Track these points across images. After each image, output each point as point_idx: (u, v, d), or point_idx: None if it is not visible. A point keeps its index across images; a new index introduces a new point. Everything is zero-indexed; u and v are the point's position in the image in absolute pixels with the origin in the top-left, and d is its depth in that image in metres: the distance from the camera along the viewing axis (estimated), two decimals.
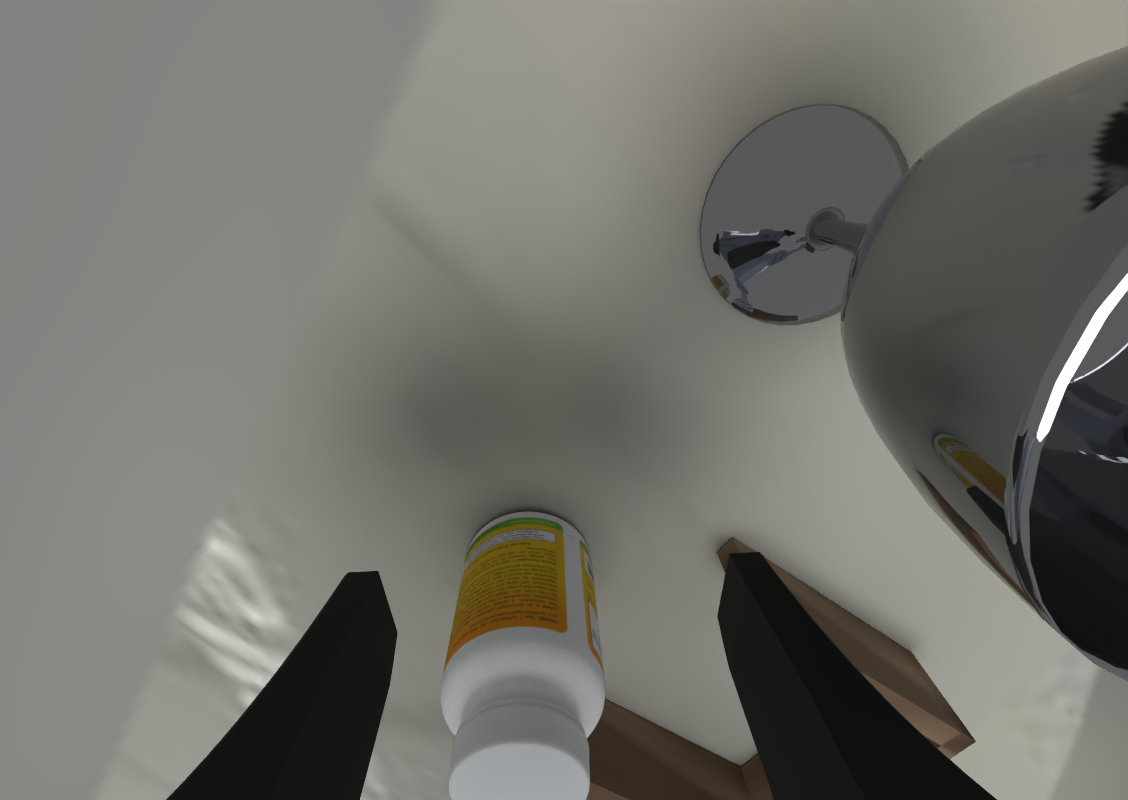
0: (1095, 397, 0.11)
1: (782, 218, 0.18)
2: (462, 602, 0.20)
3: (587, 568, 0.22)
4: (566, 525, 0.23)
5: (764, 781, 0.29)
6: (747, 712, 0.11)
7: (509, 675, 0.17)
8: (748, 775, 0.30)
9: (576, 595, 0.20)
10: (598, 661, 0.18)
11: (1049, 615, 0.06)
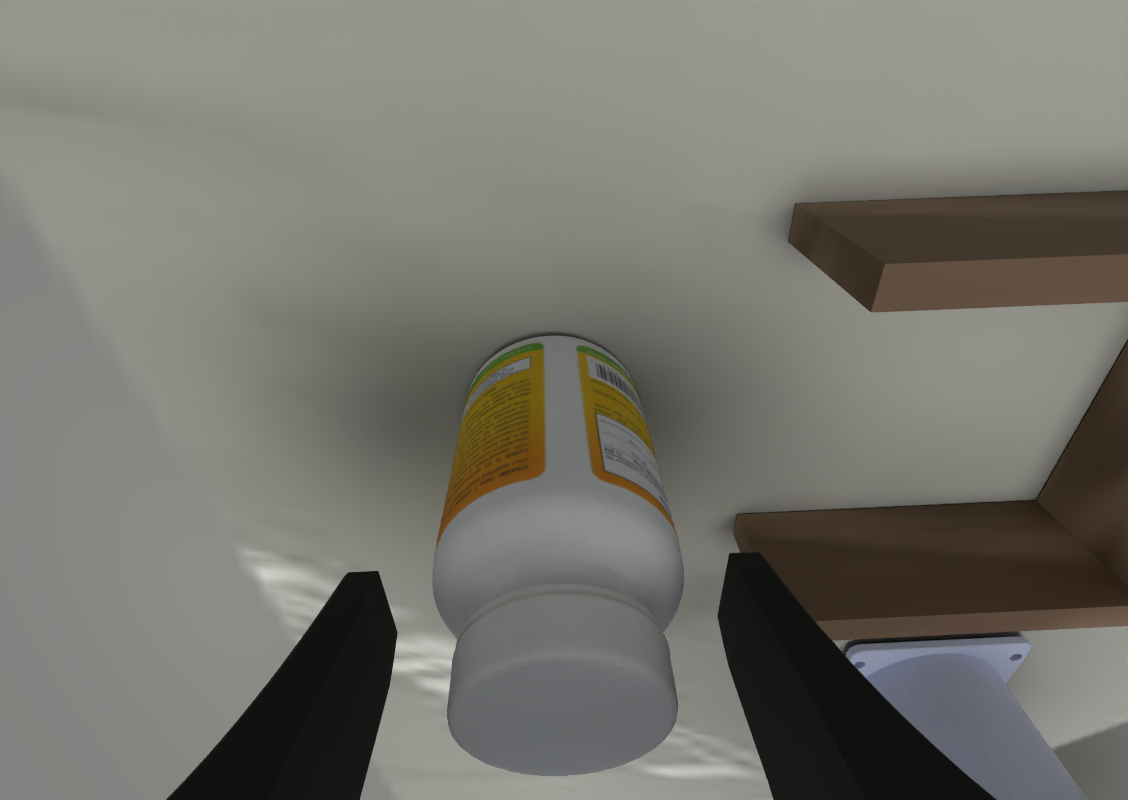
0: None
1: None
2: None
3: (596, 374, 0.15)
4: (550, 338, 0.16)
5: (1079, 503, 0.19)
6: (747, 712, 0.11)
7: (481, 574, 0.11)
8: (1052, 506, 0.20)
9: (565, 416, 0.13)
10: (623, 486, 0.11)
11: None
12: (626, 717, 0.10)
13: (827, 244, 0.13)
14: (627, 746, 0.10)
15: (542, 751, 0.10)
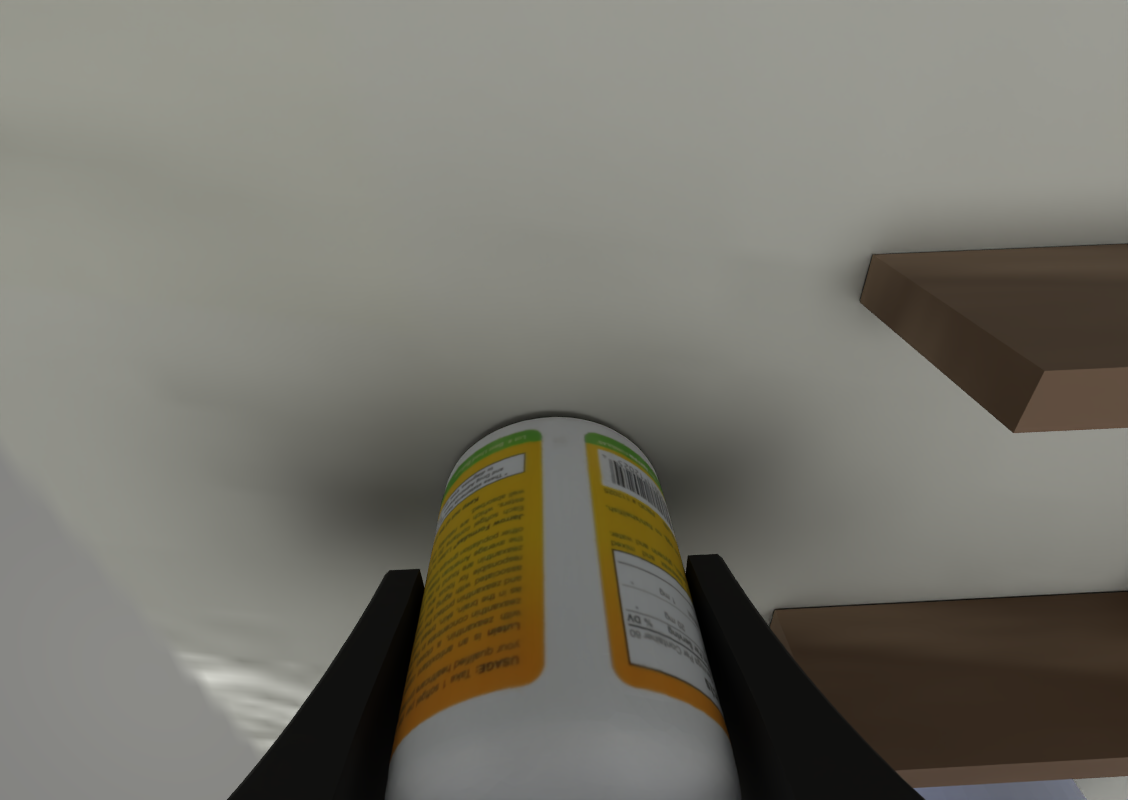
0: None
1: None
2: None
3: (611, 478, 0.11)
4: (550, 423, 0.12)
5: None
6: None
7: None
8: None
9: (572, 560, 0.09)
10: (657, 690, 0.08)
11: None
12: None
13: (929, 319, 0.10)
14: None
15: None
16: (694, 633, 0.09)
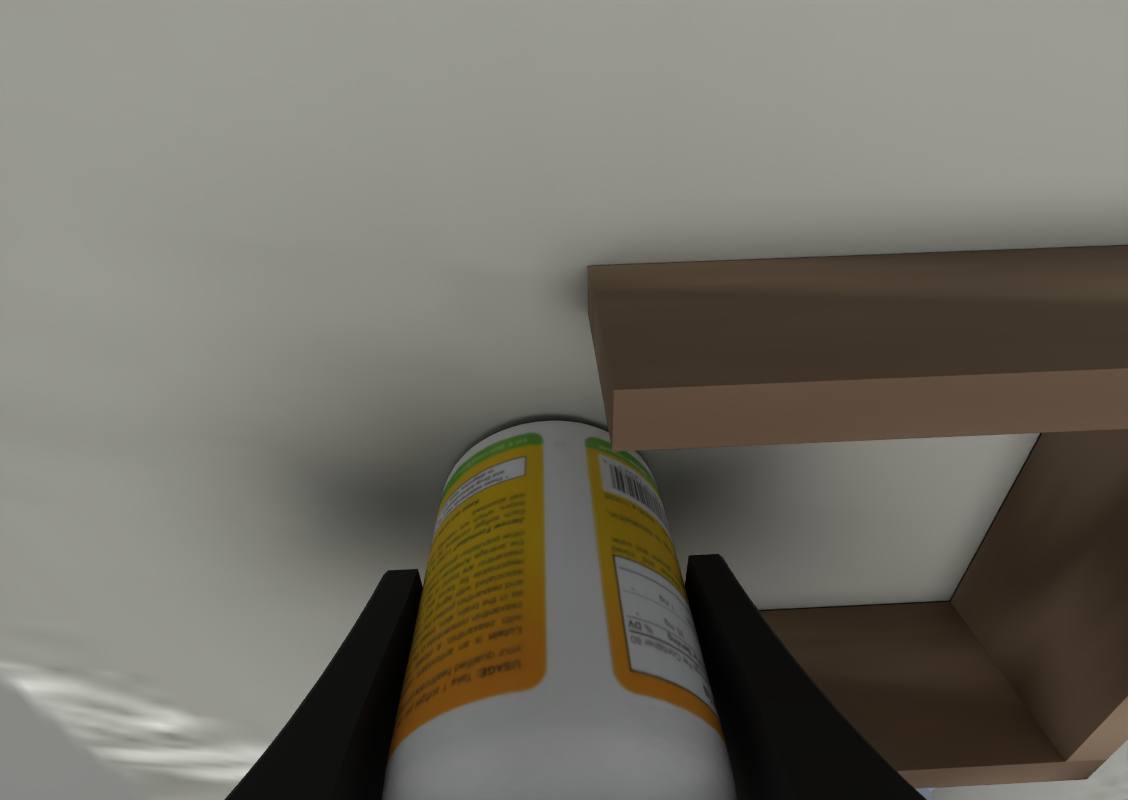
0: None
1: None
2: None
3: (611, 483, 0.11)
4: (551, 426, 0.12)
5: (993, 616, 0.16)
6: None
7: None
8: (966, 612, 0.17)
9: (573, 565, 0.09)
10: (658, 697, 0.08)
11: None
12: None
13: (597, 333, 0.09)
14: None
15: None
16: (692, 640, 0.10)
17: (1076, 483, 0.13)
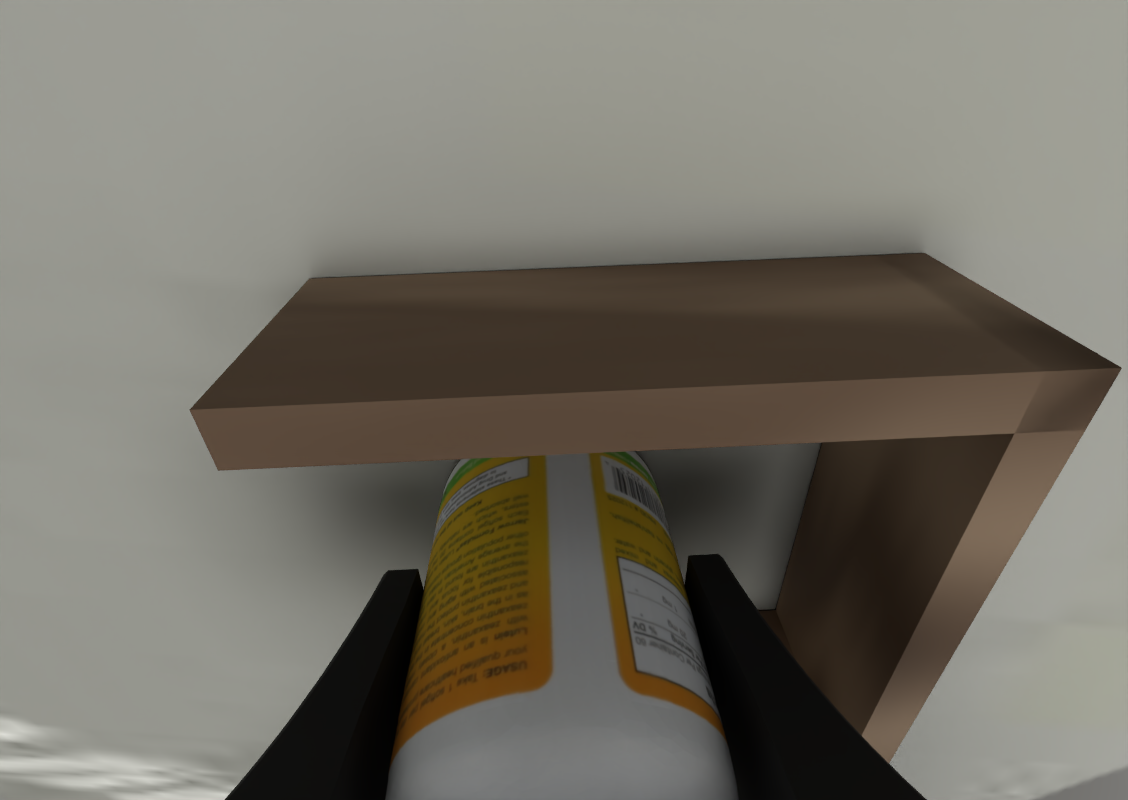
0: None
1: None
2: None
3: (613, 485, 0.11)
4: None
5: (799, 626, 0.15)
6: None
7: None
8: (784, 621, 0.16)
9: (578, 566, 0.09)
10: (663, 697, 0.08)
11: None
12: None
13: None
14: None
15: None
16: (695, 641, 0.10)
17: (841, 493, 0.13)
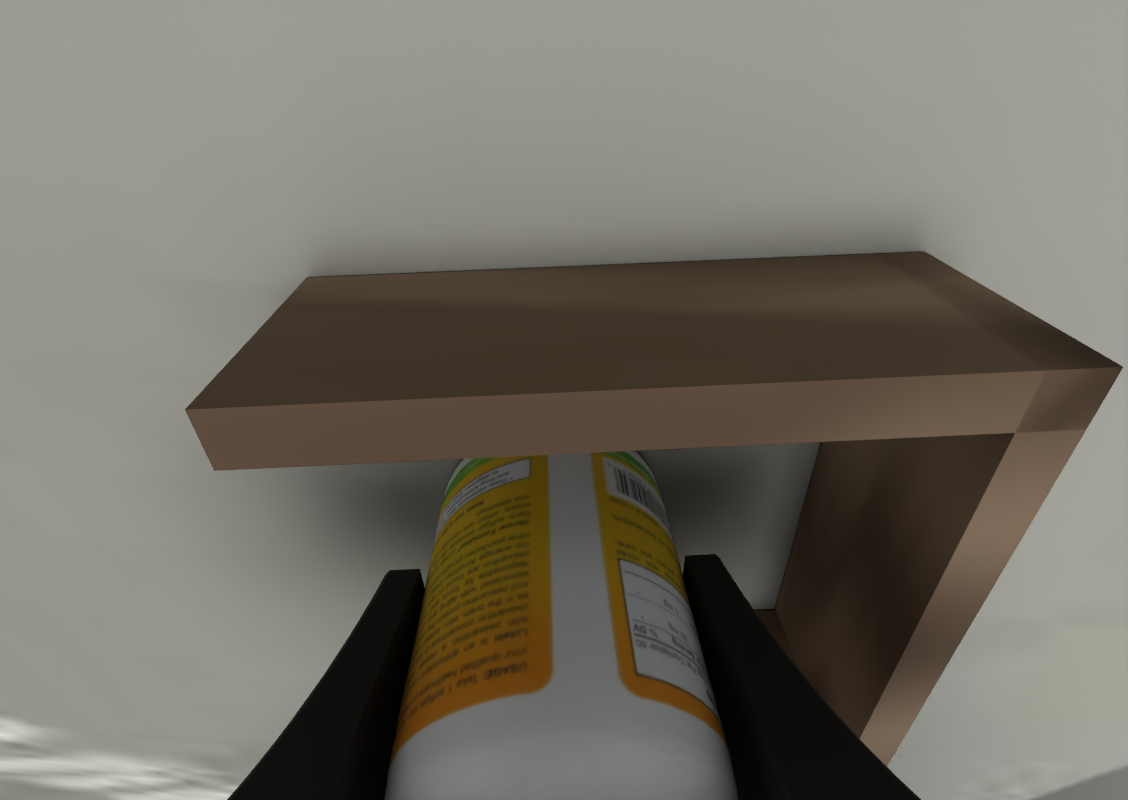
0: None
1: None
2: None
3: (615, 487, 0.11)
4: None
5: (799, 625, 0.15)
6: None
7: None
8: (784, 621, 0.16)
9: (579, 567, 0.09)
10: (663, 701, 0.08)
11: None
12: None
13: None
14: None
15: None
16: (695, 644, 0.10)
17: (841, 493, 0.13)
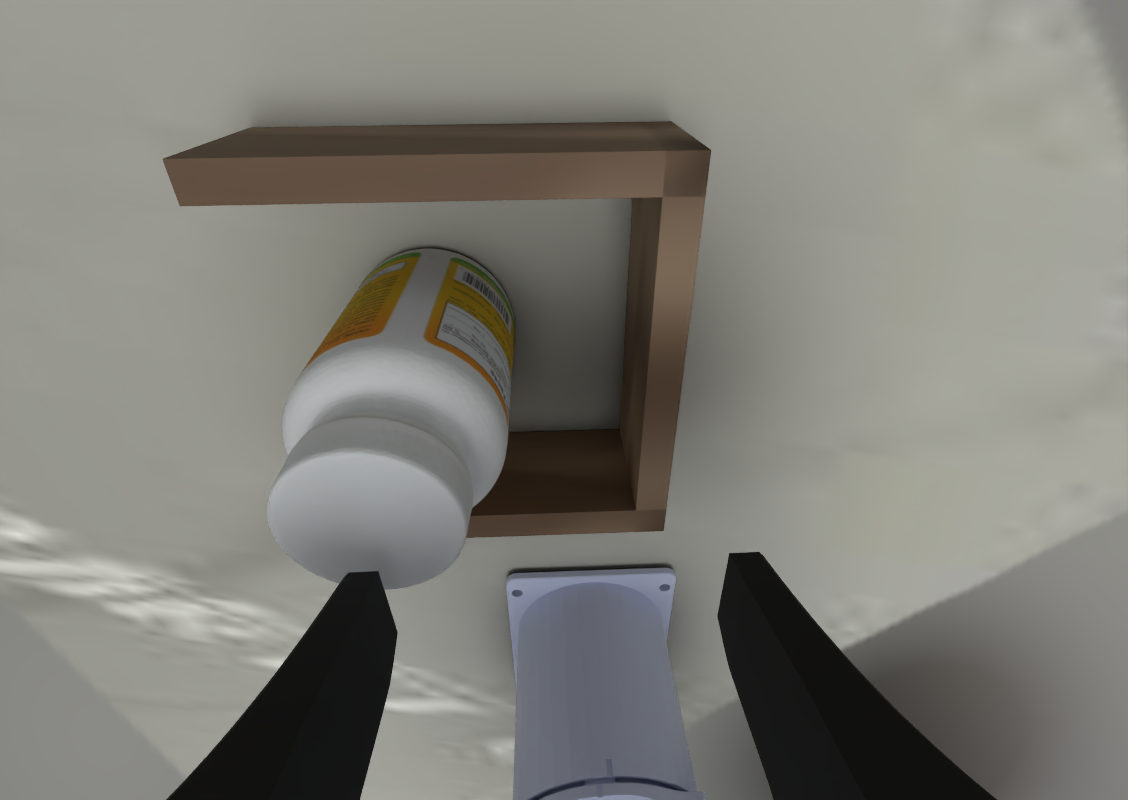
0: None
1: None
2: None
3: (461, 278, 0.17)
4: (429, 250, 0.18)
5: (625, 426, 0.21)
6: (747, 712, 0.11)
7: (316, 412, 0.12)
8: (621, 432, 0.22)
9: (417, 300, 0.15)
10: (449, 351, 0.13)
11: None
12: (421, 526, 0.12)
13: None
14: (428, 558, 0.12)
15: (355, 558, 0.12)
16: (494, 356, 0.15)
17: (633, 304, 0.18)
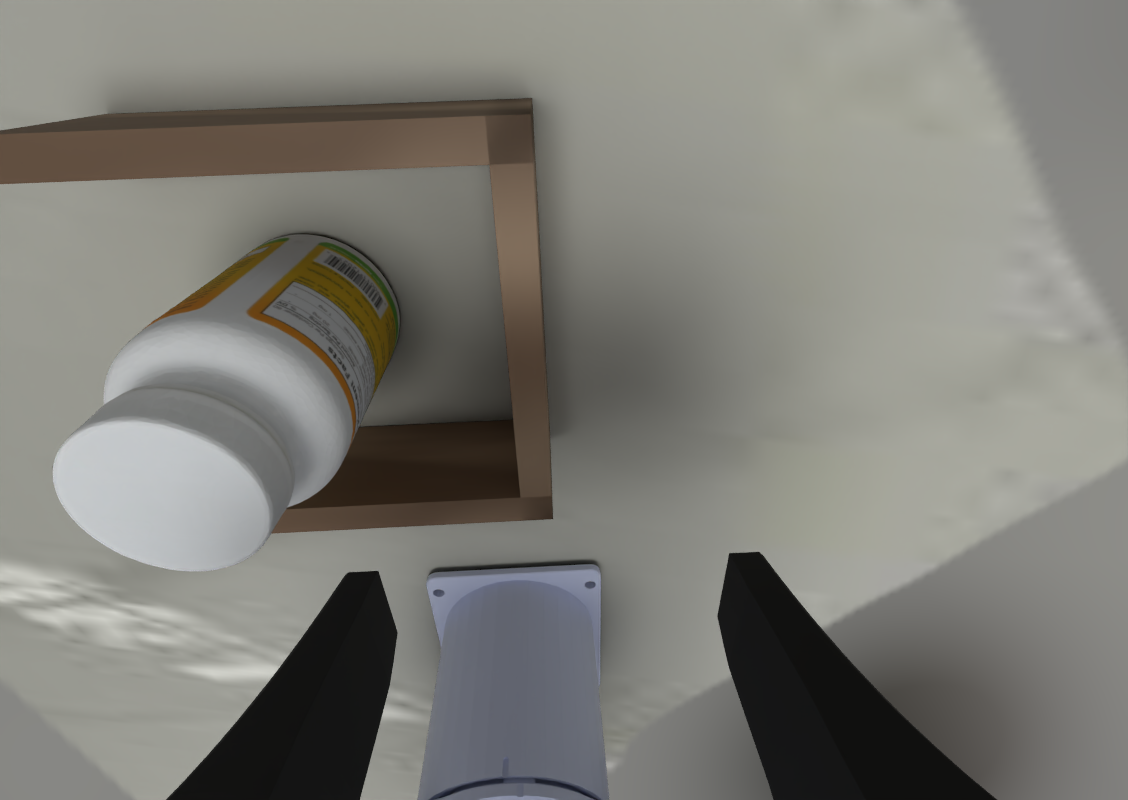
0: None
1: None
2: None
3: (324, 260, 0.16)
4: (300, 235, 0.17)
5: None
6: (747, 712, 0.11)
7: (127, 388, 0.12)
8: None
9: (258, 279, 0.14)
10: (273, 325, 0.13)
11: None
12: (220, 501, 0.11)
13: None
14: (236, 536, 0.12)
15: (160, 537, 0.12)
16: (341, 335, 0.15)
17: None
